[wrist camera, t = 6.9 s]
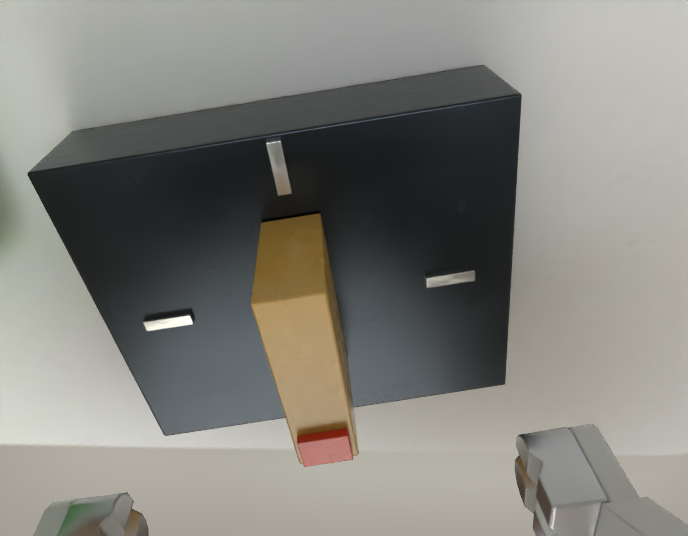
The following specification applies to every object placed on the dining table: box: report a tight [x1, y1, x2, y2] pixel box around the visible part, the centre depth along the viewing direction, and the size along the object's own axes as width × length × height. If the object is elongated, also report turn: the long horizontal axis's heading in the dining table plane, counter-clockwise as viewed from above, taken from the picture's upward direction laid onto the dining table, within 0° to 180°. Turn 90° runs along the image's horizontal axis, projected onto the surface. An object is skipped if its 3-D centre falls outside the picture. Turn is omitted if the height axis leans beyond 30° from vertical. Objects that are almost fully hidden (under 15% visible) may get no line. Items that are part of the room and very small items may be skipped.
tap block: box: [28, 65, 522, 436], centre depth 16 cm, size 12×10×3 cm
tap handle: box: [251, 213, 359, 467], centre depth 13 cm, size 6×2×4 cm, turn 8°
